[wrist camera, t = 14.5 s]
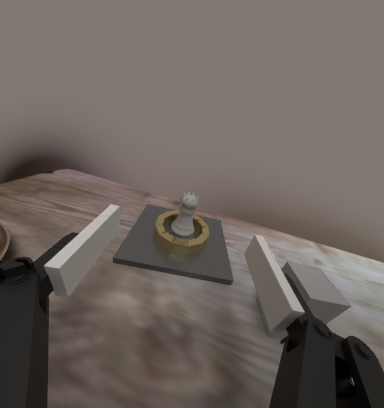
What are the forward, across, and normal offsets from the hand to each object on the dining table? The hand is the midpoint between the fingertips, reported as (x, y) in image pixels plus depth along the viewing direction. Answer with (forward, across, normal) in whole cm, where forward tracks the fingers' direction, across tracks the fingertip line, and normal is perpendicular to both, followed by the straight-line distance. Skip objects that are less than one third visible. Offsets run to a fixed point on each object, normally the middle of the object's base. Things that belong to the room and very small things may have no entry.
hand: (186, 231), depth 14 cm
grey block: (-1, +14, -10) cm, 17 cm away
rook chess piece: (+10, 0, -9) cm, 13 cm away
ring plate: (+10, 0, -10) cm, 14 cm away
